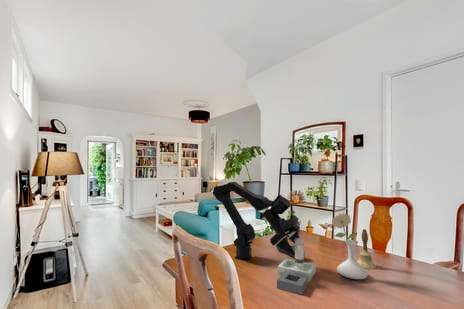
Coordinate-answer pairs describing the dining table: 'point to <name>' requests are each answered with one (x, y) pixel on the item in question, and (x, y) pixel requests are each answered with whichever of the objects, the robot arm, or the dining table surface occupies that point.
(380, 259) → the dining table surface
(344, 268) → the flower in vase
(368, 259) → the hand bell
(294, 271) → the parts tray
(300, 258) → the frosted bulb
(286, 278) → the socket block
